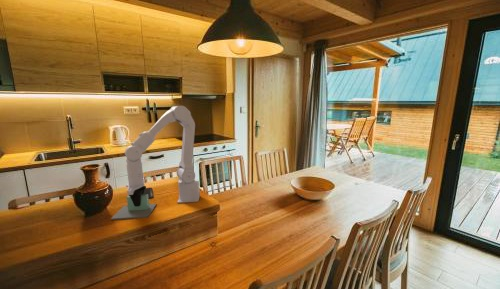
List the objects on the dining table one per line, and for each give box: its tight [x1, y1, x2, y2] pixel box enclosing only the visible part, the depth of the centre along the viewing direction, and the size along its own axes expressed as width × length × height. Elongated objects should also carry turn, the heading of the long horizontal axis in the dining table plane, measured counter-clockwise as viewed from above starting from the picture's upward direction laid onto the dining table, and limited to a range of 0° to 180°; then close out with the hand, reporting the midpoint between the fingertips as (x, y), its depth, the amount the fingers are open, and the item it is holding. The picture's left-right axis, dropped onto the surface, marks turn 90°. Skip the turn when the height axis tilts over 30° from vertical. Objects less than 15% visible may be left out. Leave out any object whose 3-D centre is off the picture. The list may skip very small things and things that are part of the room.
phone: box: [144, 187, 154, 200], centre depth 118 cm, size 8×1×15 cm
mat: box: [110, 203, 157, 221], centre depth 98 cm, size 14×12×1 cm
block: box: [126, 194, 150, 211], centre depth 99 cm, size 8×2×6 cm, turn 96°
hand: (138, 204), depth 99 cm, fingers closed on block, 2 cm apart
